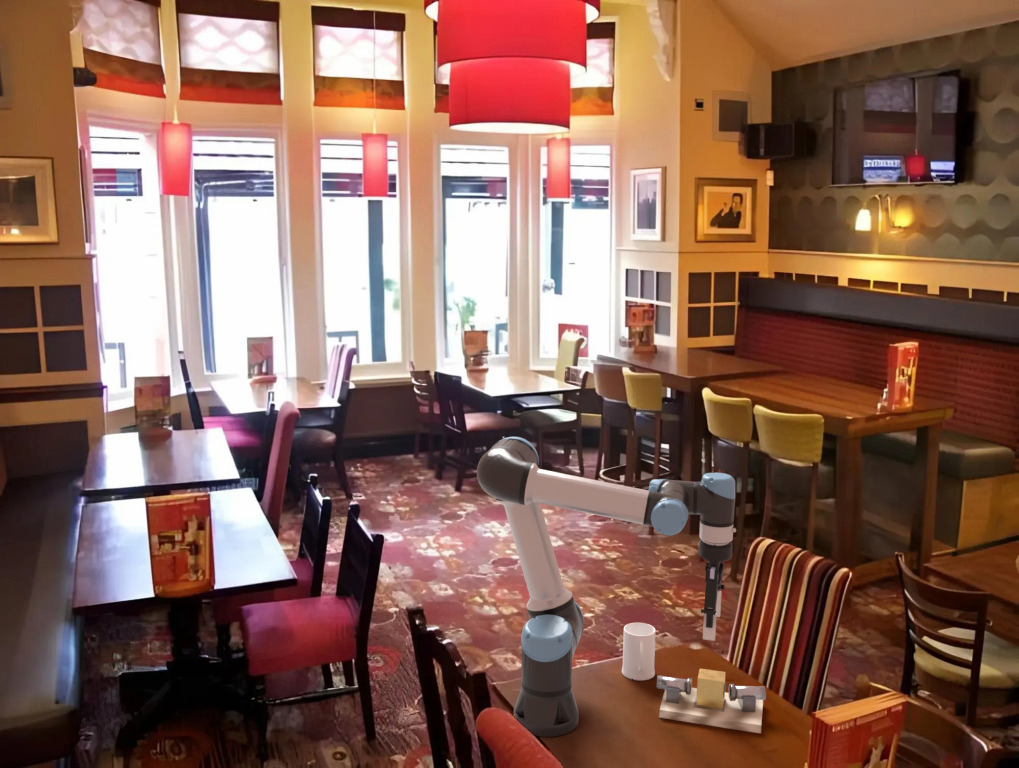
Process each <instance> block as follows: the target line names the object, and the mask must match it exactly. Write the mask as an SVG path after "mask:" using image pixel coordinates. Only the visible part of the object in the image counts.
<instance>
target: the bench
mask: <svg viewBox="0 0 1019 768" xmlns="http://www.w3.org/2000/svg"><path fill="white" fill-rule="evenodd" d="M763 708H764V700H756V709H755V712H742V710H741V708H740V705H739V703H738V699H736V700H735V701H730V700H729V694H728V692H726V691H725V697H724V704H723V710H721V709H714V708H708V707H701V706H697V687H692V690H691V695H686V693H685V692H681V697H680V701H679V704H676V703H669V702H666V690H664V692H663V695H662V699H661V703H660V706H659V712H658V713H659V715H658V718H660V719H666V720H673V721H679V722H680V721H681V722H686V723H691V724H697V725H705V726H710V727H711V726H712V727H717V728H723V729H729V730H737V731H741V732H742V731H743V732H749V733H755V734H756V733H757V734H762V725H763V724H762V722H763V721H762V720H763V710H764V709H763Z"/></svg>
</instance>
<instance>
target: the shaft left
mask: <svg viewBox="0 0 1019 768" xmlns="http://www.w3.org/2000/svg"><path fill="white" fill-rule="evenodd" d="M656 677H657V679H656V689H659V690H664V691H665V690H666V702H669V703H676V704H679V701H680V697H681V692H685V693H686V695H691V690H692V688H693V678H692V677H687V678H679V677H673V676H672V677H671V676H665V675H657V676H656Z"/></svg>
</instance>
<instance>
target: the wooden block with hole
mask: <svg viewBox="0 0 1019 768" xmlns="http://www.w3.org/2000/svg"><path fill="white" fill-rule="evenodd" d="M696 688H697V706H701V707H708V708H714V709H721V710H723V704H724V697H725V692H726V671H721V670H712V669H707V668H706V669H705V668H699V670H698V675H697V684H696Z"/></svg>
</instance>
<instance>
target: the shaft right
mask: <svg viewBox="0 0 1019 768" xmlns="http://www.w3.org/2000/svg"><path fill="white" fill-rule="evenodd" d="M727 693H728V694H729V700H730V701H735V700H736V699H738V703H739V705H740V708H741V710H742V712H755V709H756V700H763V701H765V700H766V698H767V691H766V687H765V685H764V686H763V685H762V686H760V685H759V686H754V685H735V683H729V684H728V692H727Z"/></svg>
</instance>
